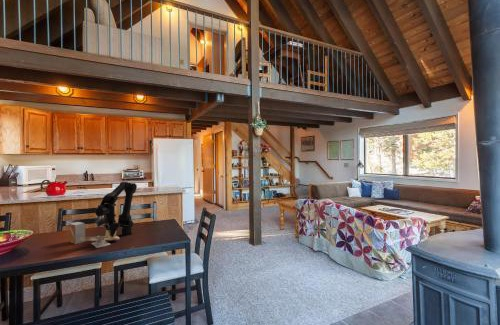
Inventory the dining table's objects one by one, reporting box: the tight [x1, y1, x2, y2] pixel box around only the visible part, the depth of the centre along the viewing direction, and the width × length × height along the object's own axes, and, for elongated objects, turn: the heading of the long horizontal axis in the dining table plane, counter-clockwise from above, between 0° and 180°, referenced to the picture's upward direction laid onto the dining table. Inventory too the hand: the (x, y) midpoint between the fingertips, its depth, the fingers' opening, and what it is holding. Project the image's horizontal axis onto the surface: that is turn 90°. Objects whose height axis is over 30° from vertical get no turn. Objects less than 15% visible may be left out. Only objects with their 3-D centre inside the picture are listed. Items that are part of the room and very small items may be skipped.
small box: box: [68, 221, 86, 245], centre depth 173 cm, size 8×6×13 cm
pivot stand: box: [91, 234, 111, 249], centre depth 168 cm, size 8×12×5 cm, turn 46°
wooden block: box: [104, 229, 118, 238], centre depth 172 cm, size 5×5×4 cm
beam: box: [80, 235, 120, 242], centre depth 168 cm, size 22×7×1 cm, turn 137°
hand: (110, 235), depth 172 cm, fingers open, 7 cm apart
